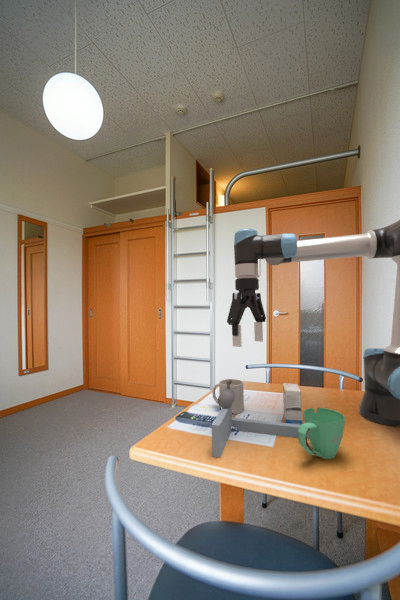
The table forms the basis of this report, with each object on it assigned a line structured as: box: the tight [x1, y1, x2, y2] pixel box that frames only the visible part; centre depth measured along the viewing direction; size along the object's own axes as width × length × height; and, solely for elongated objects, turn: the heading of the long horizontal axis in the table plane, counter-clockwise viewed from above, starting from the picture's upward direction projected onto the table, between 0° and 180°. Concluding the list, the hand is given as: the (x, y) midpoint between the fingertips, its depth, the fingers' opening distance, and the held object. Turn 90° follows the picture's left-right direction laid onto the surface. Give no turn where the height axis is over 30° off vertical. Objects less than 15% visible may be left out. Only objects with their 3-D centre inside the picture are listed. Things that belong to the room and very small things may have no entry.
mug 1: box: [211, 378, 245, 415], centre depth 103 cm, size 11×10×10 cm
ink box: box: [282, 382, 303, 425], centre depth 89 cm, size 9×5×12 cm, turn 168°
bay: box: [211, 378, 310, 458], centre depth 76 cm, size 30×20×14 cm, turn 73°
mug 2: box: [297, 407, 346, 460], centre depth 69 cm, size 15×10×10 cm
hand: (248, 343), depth 89 cm, fingers open, 13 cm apart
